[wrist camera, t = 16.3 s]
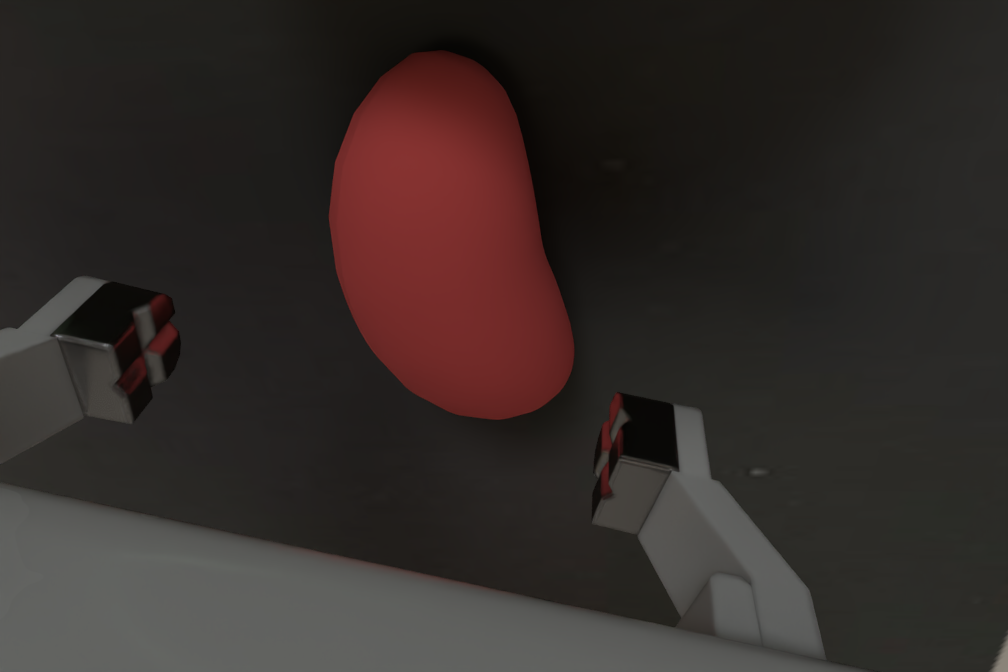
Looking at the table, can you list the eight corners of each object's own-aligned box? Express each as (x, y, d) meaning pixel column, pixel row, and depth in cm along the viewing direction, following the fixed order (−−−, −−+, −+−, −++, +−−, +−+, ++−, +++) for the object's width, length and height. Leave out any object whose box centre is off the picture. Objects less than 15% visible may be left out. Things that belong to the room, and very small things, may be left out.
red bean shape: (379, 299, 22) (415, 478, 18) (263, 59, 14) (287, 291, 11) (533, 256, 22) (595, 425, 19) (500, -4, 14) (596, 206, 11)
